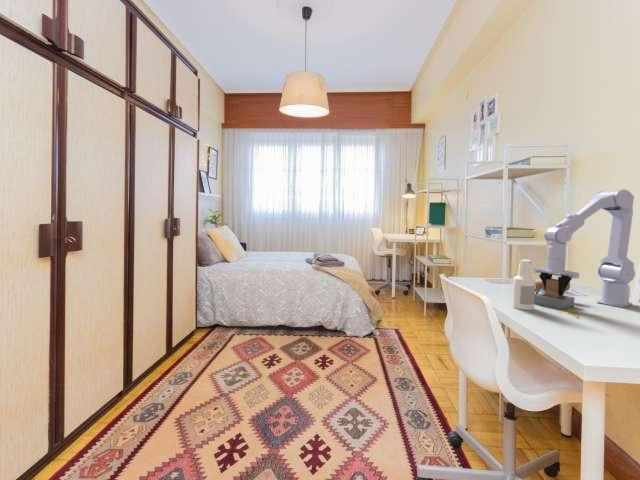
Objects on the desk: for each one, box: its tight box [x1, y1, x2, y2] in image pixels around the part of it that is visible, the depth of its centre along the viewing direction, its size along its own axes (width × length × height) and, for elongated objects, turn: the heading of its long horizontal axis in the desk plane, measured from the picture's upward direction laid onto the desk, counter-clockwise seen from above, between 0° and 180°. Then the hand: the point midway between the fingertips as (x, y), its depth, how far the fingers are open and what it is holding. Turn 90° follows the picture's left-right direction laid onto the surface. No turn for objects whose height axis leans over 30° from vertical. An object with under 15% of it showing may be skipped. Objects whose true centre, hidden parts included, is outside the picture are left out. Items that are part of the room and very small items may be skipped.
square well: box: [534, 292, 575, 311], centre depth 123 cm, size 10×10×4 cm
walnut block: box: [546, 277, 563, 299], centre depth 123 cm, size 4×4×8 cm
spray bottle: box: [511, 259, 536, 311], centre depth 119 cm, size 7×7×18 cm
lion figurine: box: [535, 280, 571, 295], centre depth 133 cm, size 15×5×9 cm, turn 46°
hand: (554, 293), depth 123 cm, fingers closed on walnut block, 4 cm apart
